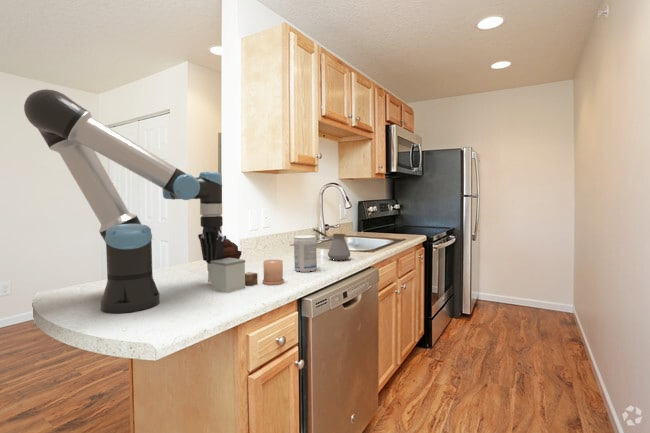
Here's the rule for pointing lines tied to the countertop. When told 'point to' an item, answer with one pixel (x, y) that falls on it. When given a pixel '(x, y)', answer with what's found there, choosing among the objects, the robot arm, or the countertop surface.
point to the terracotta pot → (273, 272)
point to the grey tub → (227, 274)
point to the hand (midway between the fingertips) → (212, 280)
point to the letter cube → (251, 279)
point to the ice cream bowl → (230, 250)
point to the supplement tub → (305, 253)
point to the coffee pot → (337, 247)
